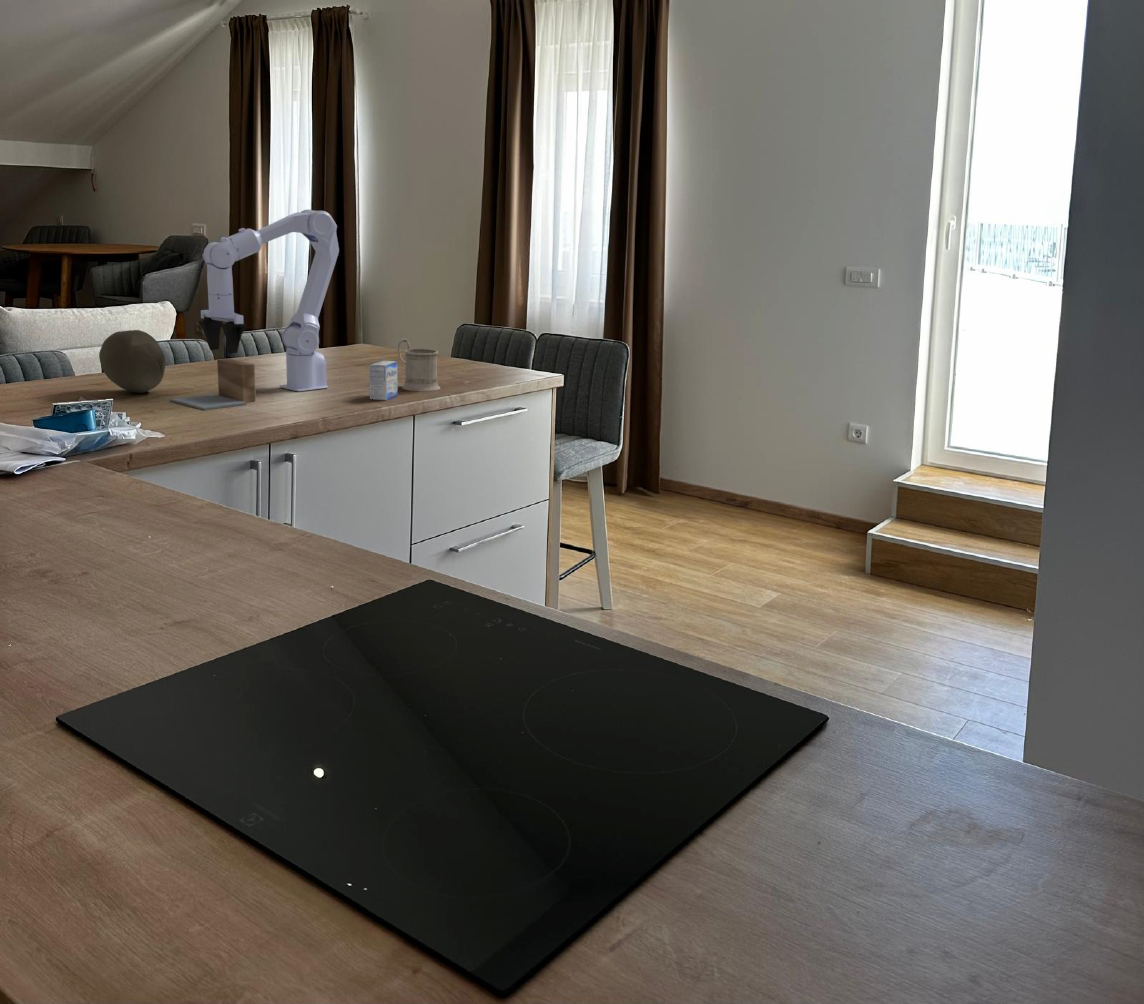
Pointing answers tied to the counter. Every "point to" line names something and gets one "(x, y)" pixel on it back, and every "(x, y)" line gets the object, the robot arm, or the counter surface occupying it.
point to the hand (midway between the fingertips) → (223, 351)
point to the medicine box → (383, 380)
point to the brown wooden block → (236, 380)
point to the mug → (420, 369)
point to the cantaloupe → (133, 360)
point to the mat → (208, 401)
